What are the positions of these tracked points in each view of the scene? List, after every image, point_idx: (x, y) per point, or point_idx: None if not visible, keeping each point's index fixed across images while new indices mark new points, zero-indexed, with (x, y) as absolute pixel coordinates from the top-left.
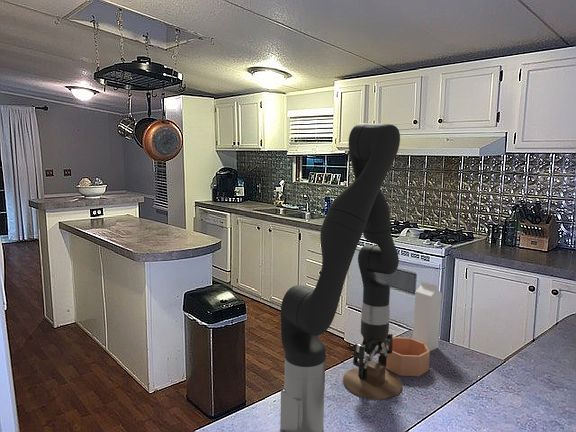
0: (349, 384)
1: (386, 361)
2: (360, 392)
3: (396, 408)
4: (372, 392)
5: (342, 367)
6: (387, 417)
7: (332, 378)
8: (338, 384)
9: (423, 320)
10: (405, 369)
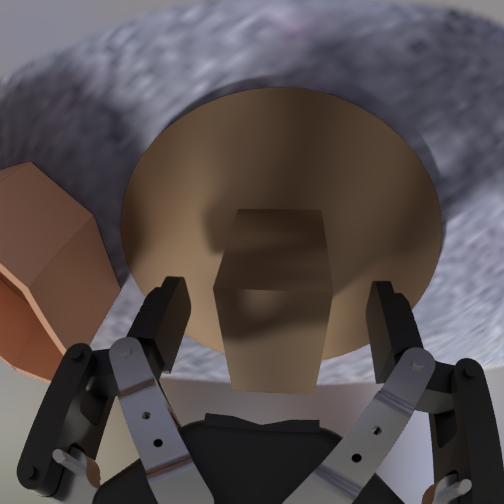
0: None
1: (137, 315)
2: (427, 238)
3: (395, 13)
4: (388, 195)
5: None
6: (492, 24)
7: None
8: None
9: None
10: (56, 217)
